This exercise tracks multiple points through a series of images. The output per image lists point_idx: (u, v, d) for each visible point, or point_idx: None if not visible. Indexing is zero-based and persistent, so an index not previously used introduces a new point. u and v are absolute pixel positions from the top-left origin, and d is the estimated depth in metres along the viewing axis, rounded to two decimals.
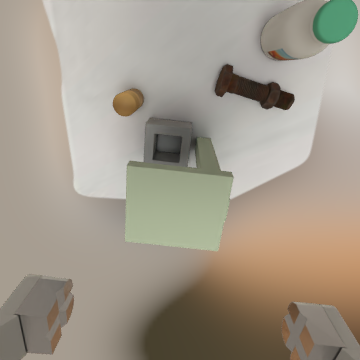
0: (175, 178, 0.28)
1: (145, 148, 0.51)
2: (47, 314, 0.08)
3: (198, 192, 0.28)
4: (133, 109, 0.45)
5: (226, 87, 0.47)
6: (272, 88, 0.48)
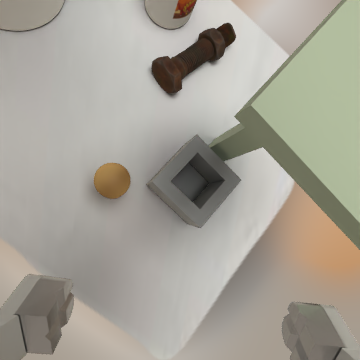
0: (330, 45, 0.12)
1: (180, 206, 0.34)
2: (47, 314, 0.08)
3: None
4: (126, 173, 0.29)
5: (177, 70, 0.36)
6: (206, 33, 0.39)
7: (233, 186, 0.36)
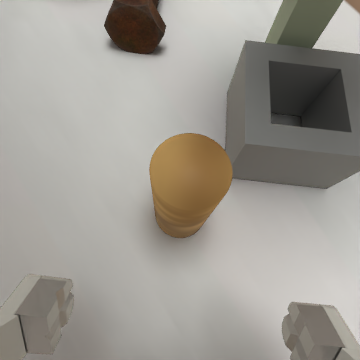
0: None
1: (320, 149, 0.17)
2: (47, 314, 0.08)
3: None
4: (206, 140, 0.13)
5: None
6: None
7: None
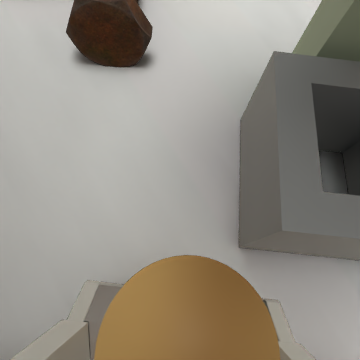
0: None
1: None
2: None
3: None
4: (220, 273, 0.06)
5: None
6: None
7: None
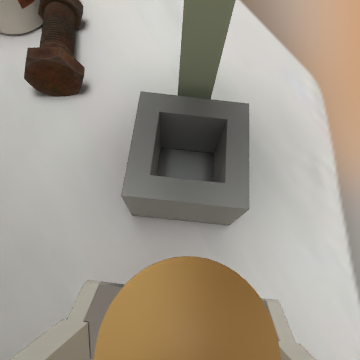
0: None
1: (192, 200, 0.18)
2: None
3: None
4: (220, 275, 0.06)
5: (54, 48, 0.24)
6: None
7: (245, 119, 0.21)
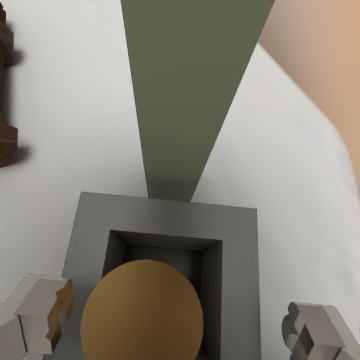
0: None
1: None
2: (47, 314, 0.08)
3: None
4: (167, 272, 0.09)
5: None
6: None
7: (252, 238, 0.13)
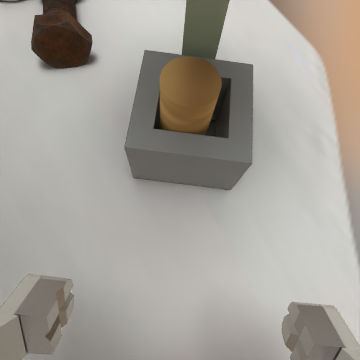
0: None
1: (195, 153, 0.18)
2: (47, 314, 0.08)
3: None
4: (202, 62, 0.17)
5: (62, 14, 0.23)
6: None
7: (249, 78, 0.21)
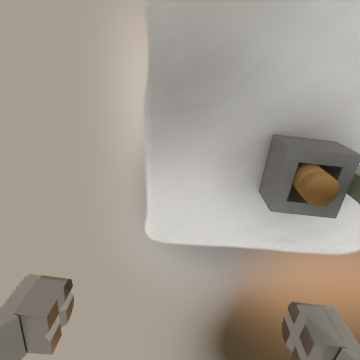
0: None
1: (279, 184, 0.33)
2: (47, 314, 0.08)
3: None
4: (333, 197, 0.30)
5: None
6: None
7: (325, 215, 0.34)
